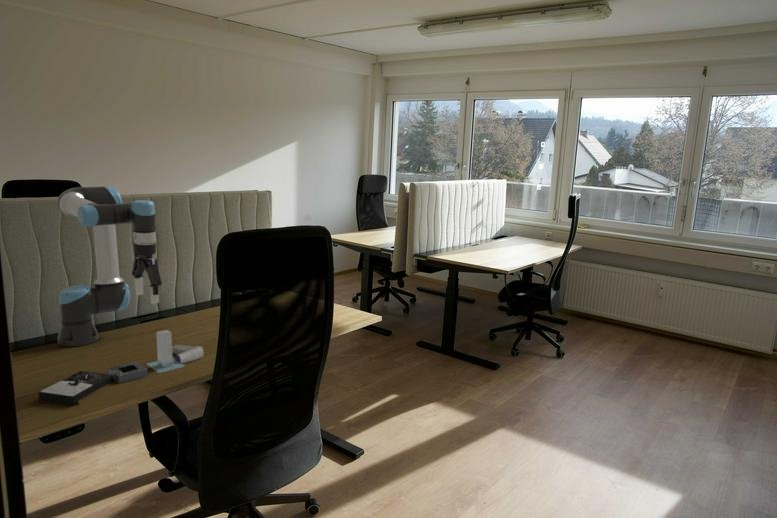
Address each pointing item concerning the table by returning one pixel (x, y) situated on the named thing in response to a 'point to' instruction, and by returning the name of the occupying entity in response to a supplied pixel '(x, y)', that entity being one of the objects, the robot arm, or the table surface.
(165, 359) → the long steel block
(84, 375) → the multimeter
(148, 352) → the table surface
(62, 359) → the table surface
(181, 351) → the infrared thermometer
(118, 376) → the socket block
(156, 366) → the slate mat
